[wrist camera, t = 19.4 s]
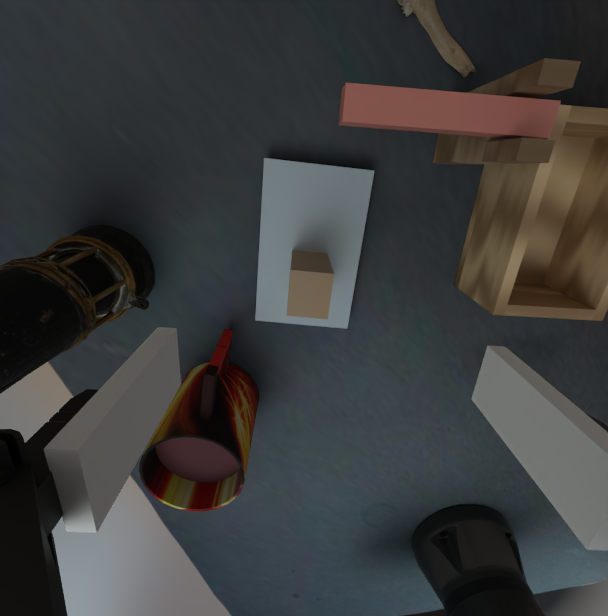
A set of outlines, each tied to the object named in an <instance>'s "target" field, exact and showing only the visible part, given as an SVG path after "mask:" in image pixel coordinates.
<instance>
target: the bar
mask: <svg viewBox="0 0 608 616" xmlns="http://www.w3.org/2000/svg"><path fill="white" fill-rule="evenodd" d="M560 103H561V101H558V100H546V99H535V98H523V97H511V96H499V95H487V94H475V93H463V92H451V91H439V90H427V89H415V88H403V87H391V86H379V85H367V84H355V83H346V84H345V85H344V87H343V89H342V94H341V105H340V115H339V125H340V126H353V127H366V128H379V129H391V130H404V131H417V132H430V133H442V134H455V135H468V136H481V137H493V138H506V139H516V138H532V139H545V138H550V135H551V132H552V129H553V125H554V122H555V119H556V116H557V113H558V109H559V106H560Z"/></svg>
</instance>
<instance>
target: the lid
mask: <svg viewBox="0 0 608 616" xmlns="http://www.w3.org/2000/svg"><path fill="white" fill-rule="evenodd" d="M373 177H374V171H373V170H364V169H355V168H347V167H338V166H329V165H321V164H312V163H304V162H295V161H286V160H278V159H269V158H264V171H263V189H262V207H261V225H260V243H259V261H258V279H257V297H256V315H255V320H256V321H267V322H279V323H290V324H301V325H312V326H323V327H334V328H346V329H347V327H348V322H349V316H350V310H351V304H352V298H353V293H354V287H355V281H356V275H357V269H358V264H359V258H360V252H361V246H362V240H363V235H364V229H365V223H366V217H367V211H368V206H369V200H370V194H371V188H372V182H373Z"/></svg>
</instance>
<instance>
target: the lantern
mask: <svg viewBox="0 0 608 616" xmlns="http://www.w3.org/2000/svg"><path fill="white" fill-rule="evenodd" d="M37 261H40V262H41V263H39V262H37ZM153 286H154V268H153V264H152V261H151V258H150V256H149V254H148V253H147V252H146V250H145V249H144V247H143V246H142V245H141V243H139V242H138V241H137V240H136V239H135V238H134V237H132V236H131V235H129V234H128V233H127V232H124V231H122V230H120V229H117V228H115V227H109V226H103V225H101V226H94V227H88V228H85V229H82V230H80V231H78V232H77V233H75V234H73V235H72V236H70V237H65V238H61V239H59V240H57V241H55V242H54V243H53V244H51V245H50V246H49V247H48V248H47V250H46V251H45V252H43V253H41V254H39V255H37V256H34V257H28V258H21V259H15V260H11V261H10V262H8V263H6V264H4V265H1V266H0V393H2V392H3V391H5V390H6V389H8V388H9V387H10V386H12V385H13V384H15V383H16V382H18V381H19V380H21V379H22V378H23V377H25V376H26V375H28V374H29V373H31V372H32V371H34V370H35V369H37V368H39V367H40V366H41V365H43V364H44V363H46V362H48V361H49V360H51V359H52V358H54V357H55V356H57V355H58V354H60V353H63V352H65V351H68V350H70V349H71V348H73V347H74V346H76V345H78V344H79V343H80V342H82V341H83V340H84V339H86V338H87V336H88V335H89V334H90V332H91V331H93V330H94V329H96V328H97V327H98V326H100V325H101V324H103V323H104V322H110V321H113V320H115V319H118V318H120V317H121V316H122V315H124V314H125V313H126V312H127V311H128V309H130V308H132V307H134V306H135V307H138V308H140V309H143V310H145V309H147V308H148V306H149V302H148V301H147V300H145V299H146V298H147V297H148V296H149V294H150V292H151V290H152V288H153ZM142 303H143V304H142ZM90 322H91V324H90ZM89 325H90V326H89ZM88 333H89V334H88Z"/></svg>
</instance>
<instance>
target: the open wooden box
mask: <svg viewBox="0 0 608 616" xmlns="http://www.w3.org/2000/svg"><path fill="white" fill-rule="evenodd" d="M545 140H556V141H555V144H554V147H553V150H552V154H551V157H550V160H549V163H516V164H484V168H483V172H482V176H481V180H480V184H479V188H478V192H477V196H476V200H475V203H474V207H473V211H472V215H471V219H470V223H469V227H468V231H467V235H466V239H465V243H464V247H463V251H462V255H461V259H460V263H459V267H458V271H457V275H456V279H455V283H454V286H456V287H457V288H458V289H460V290H461V291H462V292H464V293H465V294H466V295H468V296H469V297H470V298H471V299H473V300H474V301H475V302H477V303H478V304H479V305H481V306H482V307H483V308H485V309H486V310H487V311H489V312H490V313H491V314H493V315H508V316H525V317H543V318H561V319H578V320H596V321H602V320H603V318H604V316H605V314H606V312H607V309H608V109H606V108H594V107H582V106H570V105H560V106H559V109H558V113H557V116H556V119H555V122H554V125H553V129H552V132H551V135H550V138H545Z"/></svg>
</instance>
